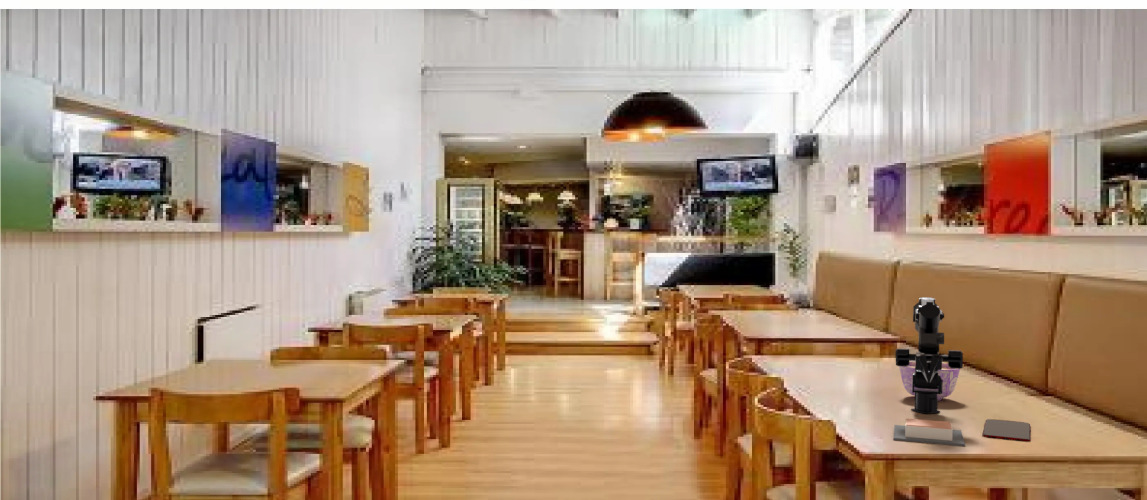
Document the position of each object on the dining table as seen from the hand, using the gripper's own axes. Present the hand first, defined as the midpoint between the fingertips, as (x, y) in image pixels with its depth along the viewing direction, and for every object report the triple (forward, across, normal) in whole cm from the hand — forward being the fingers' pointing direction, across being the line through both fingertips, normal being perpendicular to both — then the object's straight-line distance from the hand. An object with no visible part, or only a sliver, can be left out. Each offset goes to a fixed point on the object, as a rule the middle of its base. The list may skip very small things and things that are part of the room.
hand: (928, 381), depth 266 cm
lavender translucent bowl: (-26, 0, +47) cm, 54 cm away
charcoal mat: (+19, 0, 0) cm, 19 cm away
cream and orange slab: (+15, 0, +1) cm, 15 cm away
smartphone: (+8, +21, +13) cm, 26 cm away
